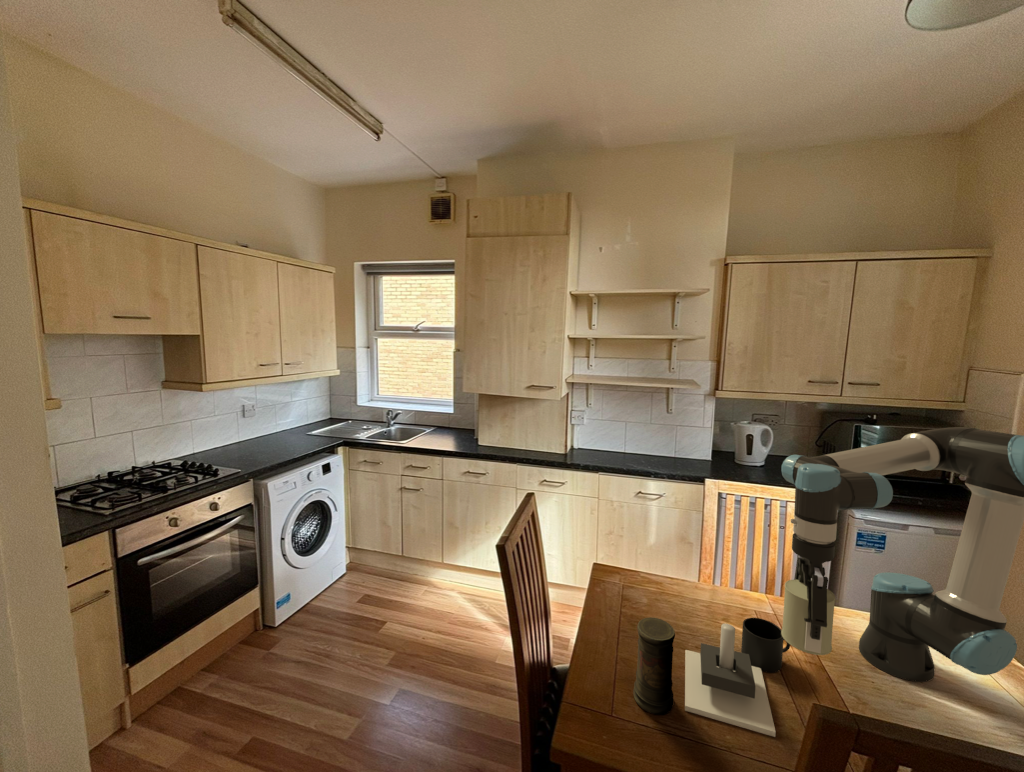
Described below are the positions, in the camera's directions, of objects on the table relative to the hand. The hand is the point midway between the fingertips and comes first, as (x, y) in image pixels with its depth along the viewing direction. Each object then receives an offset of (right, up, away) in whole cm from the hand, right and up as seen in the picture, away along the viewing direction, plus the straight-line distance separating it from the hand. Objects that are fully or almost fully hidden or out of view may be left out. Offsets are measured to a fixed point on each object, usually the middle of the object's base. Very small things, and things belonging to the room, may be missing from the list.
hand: (806, 636), depth 95 cm
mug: (+3, -19, +21) cm, 28 cm away
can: (0, -1, 0) cm, 1 cm away
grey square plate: (-13, -15, +10) cm, 22 cm away
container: (-31, -20, +8) cm, 38 cm away
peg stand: (-13, -19, +11) cm, 25 cm away
